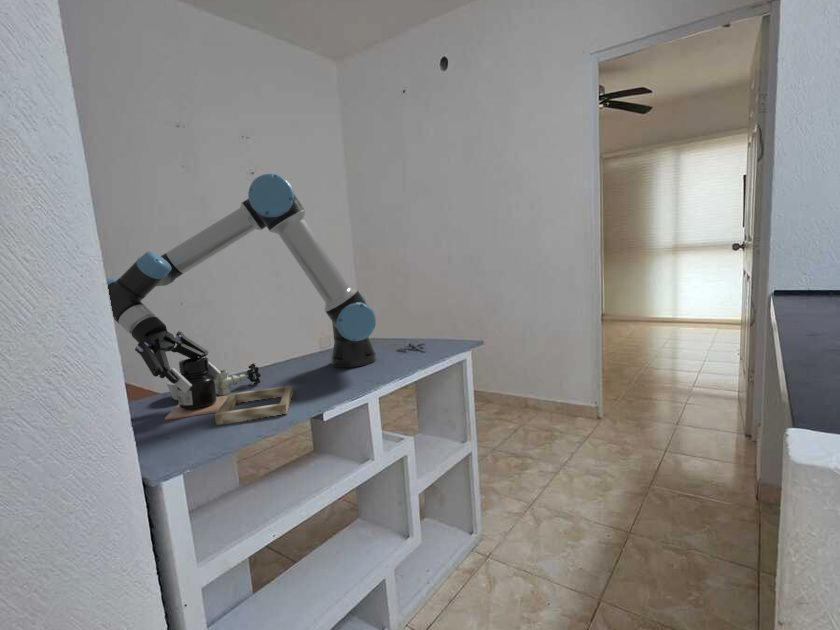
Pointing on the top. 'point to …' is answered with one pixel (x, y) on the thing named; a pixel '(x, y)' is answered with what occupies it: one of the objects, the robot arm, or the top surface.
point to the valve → (235, 379)
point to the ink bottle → (196, 384)
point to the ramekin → (173, 390)
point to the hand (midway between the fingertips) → (203, 382)
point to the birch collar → (232, 416)
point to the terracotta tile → (196, 409)
